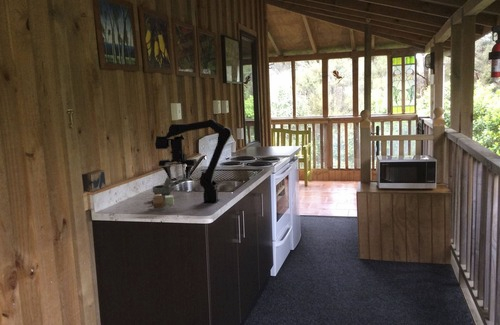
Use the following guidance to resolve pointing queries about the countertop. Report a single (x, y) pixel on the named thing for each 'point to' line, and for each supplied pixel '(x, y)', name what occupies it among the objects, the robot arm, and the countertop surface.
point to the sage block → (169, 200)
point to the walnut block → (159, 202)
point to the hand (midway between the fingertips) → (178, 179)
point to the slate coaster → (159, 208)
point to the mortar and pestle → (163, 188)
